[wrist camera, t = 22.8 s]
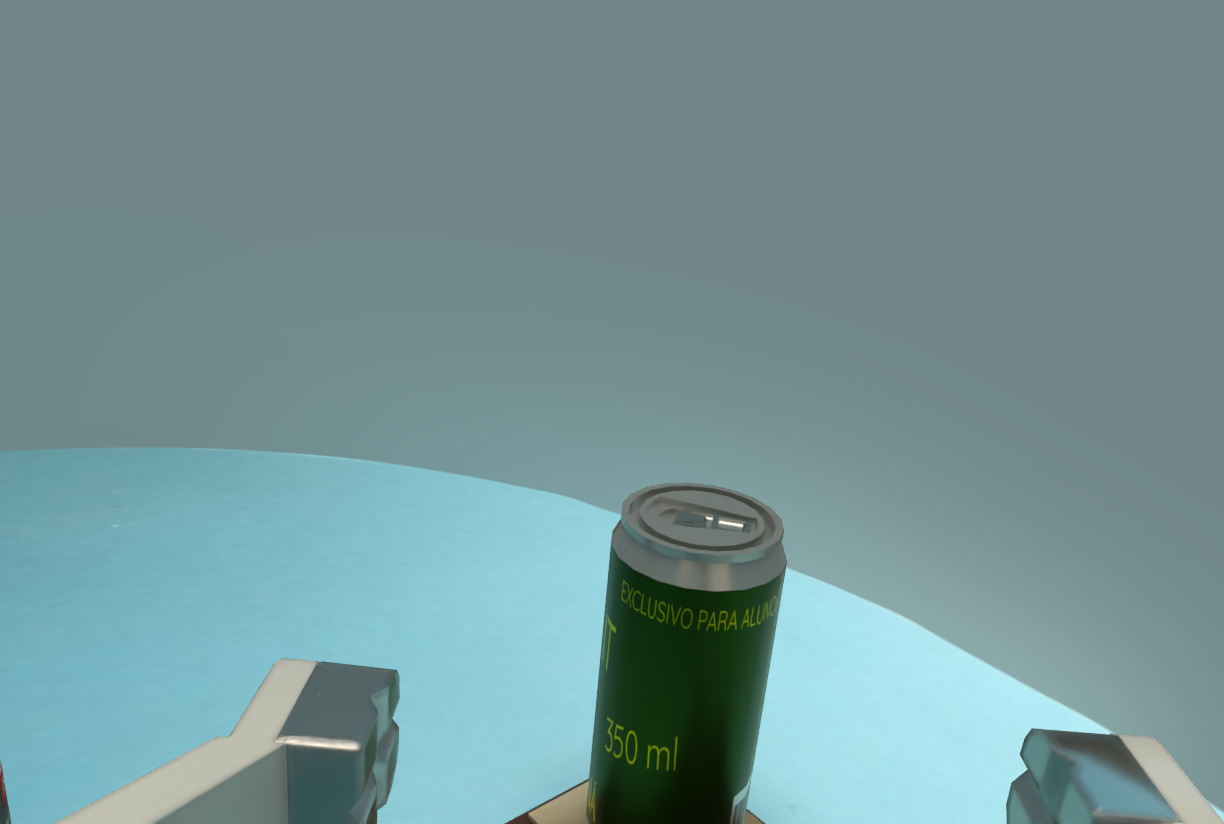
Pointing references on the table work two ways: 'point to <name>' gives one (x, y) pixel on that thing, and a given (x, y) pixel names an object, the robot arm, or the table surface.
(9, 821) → the pill bottle
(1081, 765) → the robot arm
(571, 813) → the serving board
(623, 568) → the green drink can
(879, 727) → the table surface
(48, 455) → the table surface
